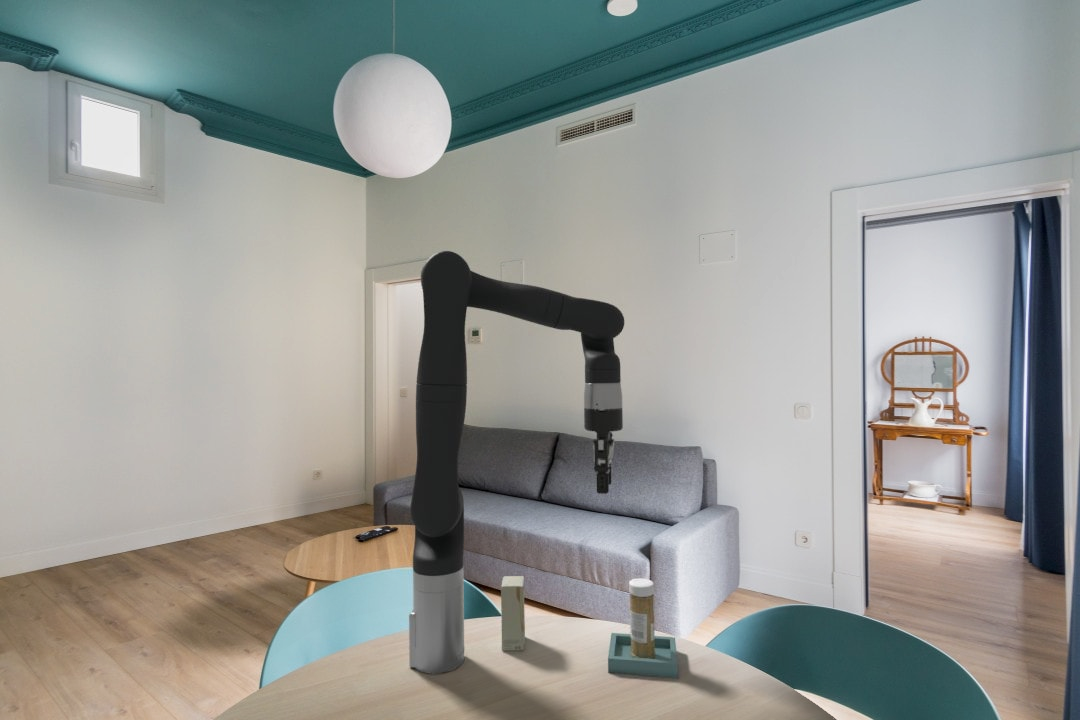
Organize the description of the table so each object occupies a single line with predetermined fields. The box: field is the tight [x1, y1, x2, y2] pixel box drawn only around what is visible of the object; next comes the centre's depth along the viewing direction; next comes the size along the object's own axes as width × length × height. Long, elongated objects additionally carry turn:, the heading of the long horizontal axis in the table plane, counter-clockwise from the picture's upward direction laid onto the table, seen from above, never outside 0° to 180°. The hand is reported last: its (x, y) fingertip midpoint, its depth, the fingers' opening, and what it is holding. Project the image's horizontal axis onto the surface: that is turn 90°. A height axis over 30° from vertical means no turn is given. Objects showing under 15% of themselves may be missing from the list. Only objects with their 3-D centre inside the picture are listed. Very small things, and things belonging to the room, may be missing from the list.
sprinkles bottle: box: [628, 578, 656, 659], centre depth 105 cm, size 5×5×13 cm
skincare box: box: [500, 575, 526, 651], centre depth 113 cm, size 6×4×12 cm
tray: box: [607, 632, 679, 679], centre depth 105 cm, size 12×10×2 cm
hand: (604, 488), depth 113 cm, fingers open, 8 cm apart
